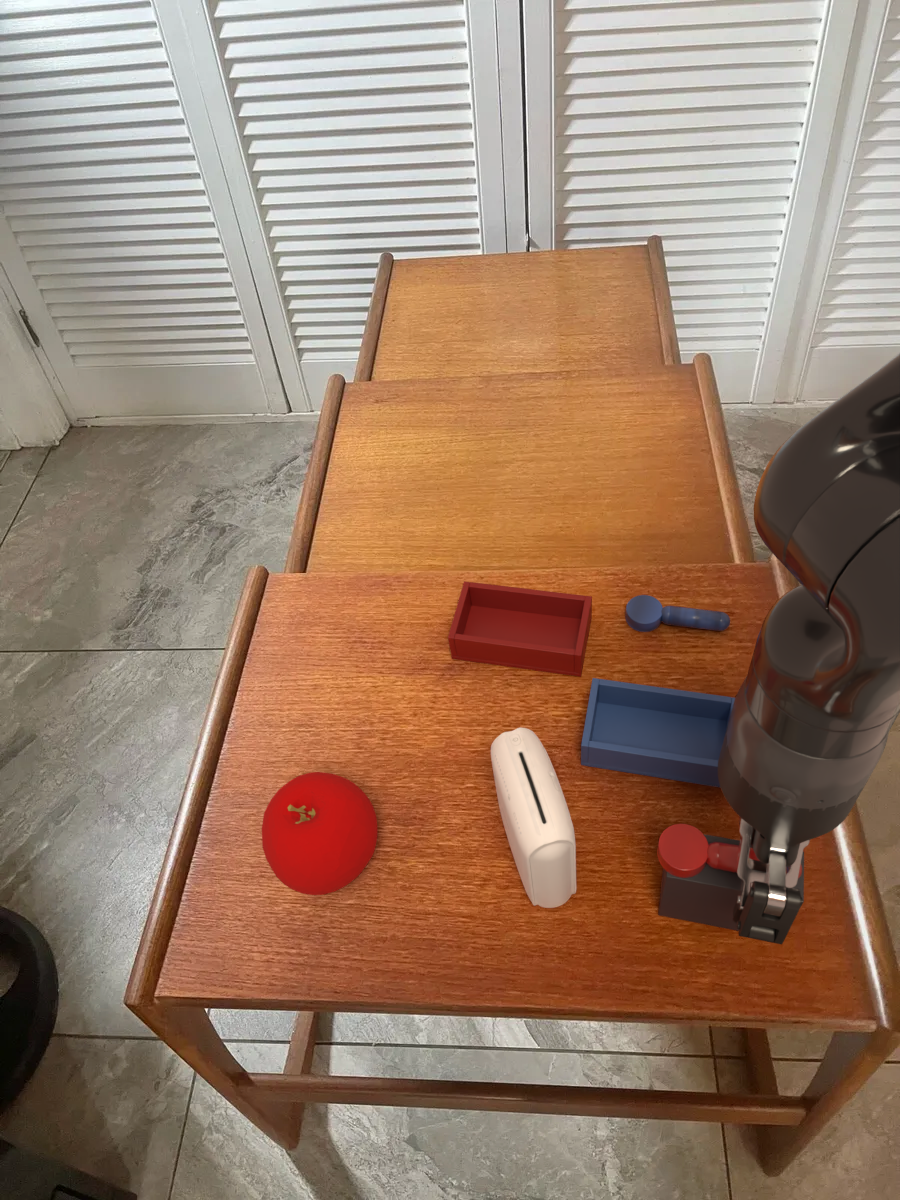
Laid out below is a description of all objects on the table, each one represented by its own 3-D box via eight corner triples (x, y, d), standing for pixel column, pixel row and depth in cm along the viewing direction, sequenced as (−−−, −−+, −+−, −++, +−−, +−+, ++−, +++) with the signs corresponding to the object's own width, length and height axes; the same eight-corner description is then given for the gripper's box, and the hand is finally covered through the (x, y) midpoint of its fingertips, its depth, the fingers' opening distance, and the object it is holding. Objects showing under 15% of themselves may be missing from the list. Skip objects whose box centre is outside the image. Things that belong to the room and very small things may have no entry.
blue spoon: (729, 613, 85) (732, 602, 83) (727, 643, 83) (730, 631, 81) (627, 601, 87) (628, 589, 86) (623, 629, 85) (624, 618, 84)
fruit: (294, 796, 78) (262, 740, 70) (395, 807, 76) (374, 751, 69) (263, 901, 73) (225, 853, 65) (371, 916, 71) (346, 869, 63)
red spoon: (799, 851, 62) (804, 841, 61) (799, 899, 60) (804, 890, 59) (659, 827, 65) (661, 817, 63) (654, 873, 63) (656, 863, 61)
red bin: (591, 618, 86) (592, 596, 83) (581, 677, 82) (581, 655, 80) (467, 603, 89) (464, 580, 86) (451, 659, 85) (447, 637, 82)
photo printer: (493, 798, 76) (480, 725, 66) (541, 784, 76) (536, 709, 67) (530, 916, 70) (522, 854, 60) (583, 900, 70) (584, 836, 60)
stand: (783, 892, 69) (804, 851, 62) (782, 939, 67) (803, 902, 60) (662, 870, 71) (671, 828, 64) (658, 915, 69) (666, 876, 62)
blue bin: (733, 719, 78) (739, 697, 75) (729, 789, 74) (735, 769, 71) (592, 698, 81) (592, 677, 78) (580, 765, 77) (581, 745, 74)
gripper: (880, 883, 43) (810, 978, 56) (870, 642, 52) (811, 773, 64) (719, 853, 45) (686, 952, 58) (734, 625, 53) (702, 755, 66)
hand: (752, 857), depth 61 cm, fingers open, 8 cm apart
